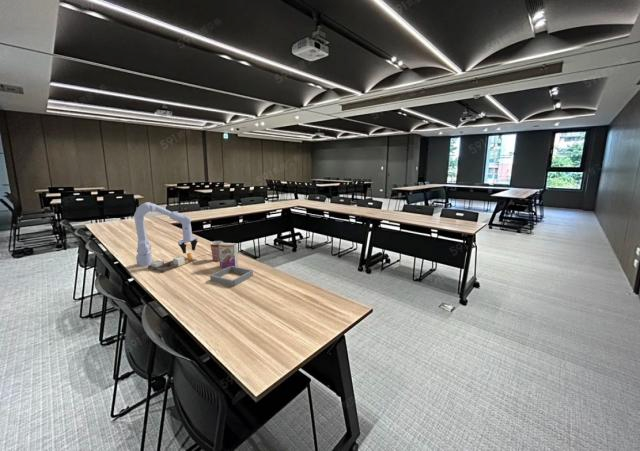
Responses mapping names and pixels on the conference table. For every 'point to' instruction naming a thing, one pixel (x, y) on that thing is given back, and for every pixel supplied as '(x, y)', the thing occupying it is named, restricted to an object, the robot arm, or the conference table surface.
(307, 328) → the conference table surface
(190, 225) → the robot arm
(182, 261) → the orange mallet
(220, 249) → the candy bar box
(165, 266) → the lane rack
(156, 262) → the grey block
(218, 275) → the desk tray rim
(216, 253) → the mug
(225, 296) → the conference table surface
